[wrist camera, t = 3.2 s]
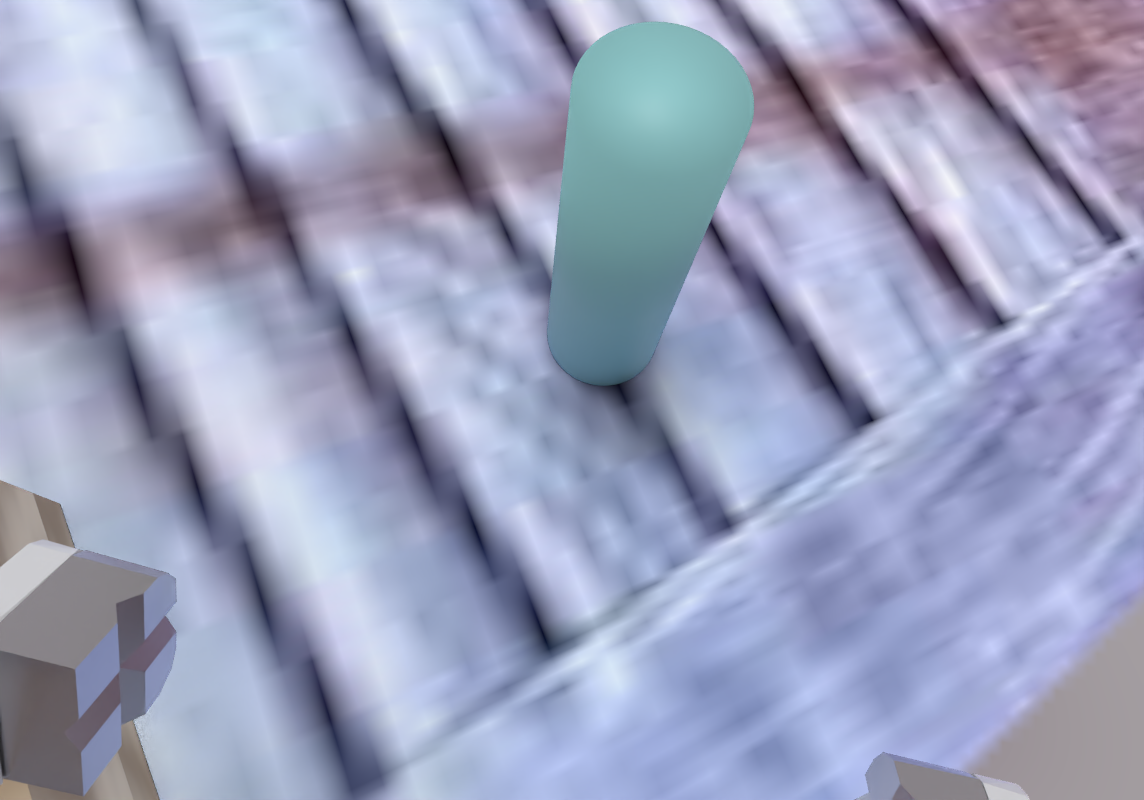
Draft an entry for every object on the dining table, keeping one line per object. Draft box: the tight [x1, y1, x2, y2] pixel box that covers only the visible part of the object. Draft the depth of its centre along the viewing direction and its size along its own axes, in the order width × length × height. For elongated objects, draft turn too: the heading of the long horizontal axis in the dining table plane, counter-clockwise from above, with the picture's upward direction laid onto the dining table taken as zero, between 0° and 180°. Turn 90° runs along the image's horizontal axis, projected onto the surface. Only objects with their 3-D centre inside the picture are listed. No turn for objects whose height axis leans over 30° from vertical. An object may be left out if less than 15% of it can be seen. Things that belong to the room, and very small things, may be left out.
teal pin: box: [547, 22, 754, 386], centre depth 22 cm, size 4×4×12 cm
